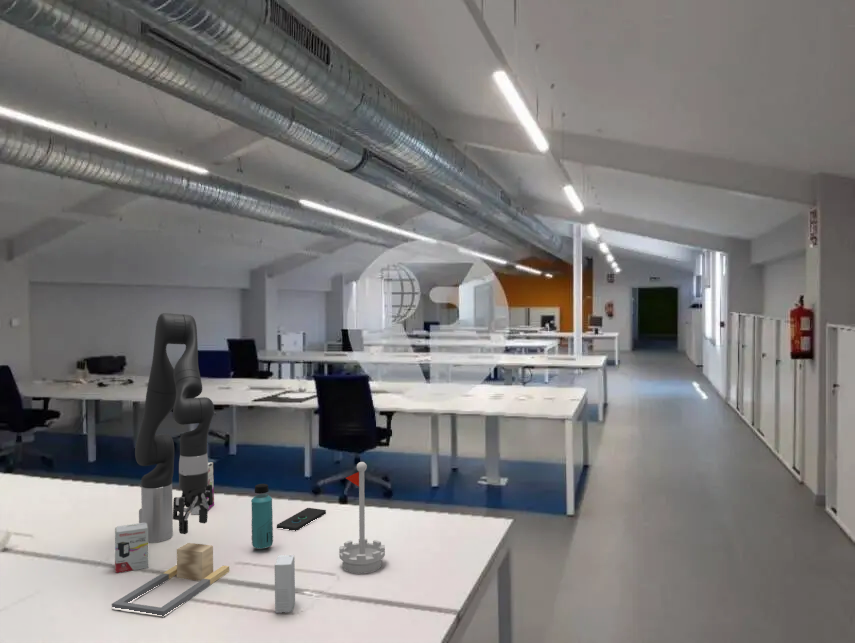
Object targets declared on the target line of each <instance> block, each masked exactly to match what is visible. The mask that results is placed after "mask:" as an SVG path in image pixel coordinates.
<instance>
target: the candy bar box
mask: <svg viewBox="0 0 855 643" xmlns="http://www.w3.org/2000/svg"><path fill="white" fill-rule="evenodd" d="M214 479H215V478H214V462H211V461H210V462H209V461H208V485H212V493H213V504H212V505H210V506H209V509H208V511H209V510H211V509H212V508H214V506H215V492H214V491H215V490H214V489H215V487H214V485H215V484H214V483H215V482H214ZM207 501H209V498H208V497H207ZM199 510H200V508H199V507H198V506H196V507H195V508H193V511H192V512H191V513H190V515H193V516H199Z"/></svg>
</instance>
